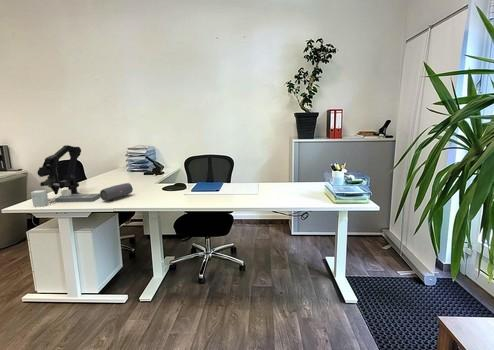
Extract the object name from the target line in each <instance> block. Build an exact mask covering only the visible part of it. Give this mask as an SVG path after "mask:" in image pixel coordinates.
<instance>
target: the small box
mask: <svg viewBox="0 0 494 350" xmlns="http://www.w3.org/2000/svg"><path fill="white" fill-rule="evenodd" d="M30 195H31V196H30V197H31V201H32V206H37V207H45V206H47V205H49V204H50V203H49V202H50V201H49V196H48V191H47V189H44V190H43V189H42V190H40V189H39V190H34V191H31V192H30Z"/></svg>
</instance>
